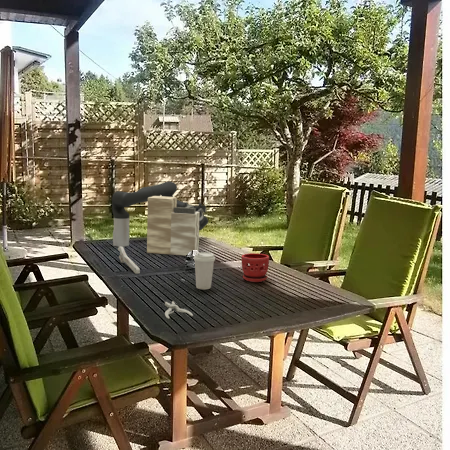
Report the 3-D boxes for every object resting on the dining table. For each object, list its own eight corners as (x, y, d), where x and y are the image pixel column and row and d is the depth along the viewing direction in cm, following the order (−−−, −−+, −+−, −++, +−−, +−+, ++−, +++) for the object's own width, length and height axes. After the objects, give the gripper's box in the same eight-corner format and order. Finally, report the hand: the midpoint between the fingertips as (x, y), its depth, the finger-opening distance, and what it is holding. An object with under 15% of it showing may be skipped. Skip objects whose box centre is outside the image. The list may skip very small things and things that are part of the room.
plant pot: (270, 277, 228) (271, 253, 226) (264, 284, 215) (266, 259, 213) (244, 274, 231) (245, 251, 229) (237, 281, 219) (238, 256, 217)
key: (182, 208, 286) (182, 203, 286) (201, 209, 285) (201, 205, 284) (173, 212, 267) (173, 207, 266) (194, 214, 265) (194, 208, 265)
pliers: (167, 315, 167) (156, 302, 181) (167, 319, 168) (156, 306, 181) (193, 312, 171) (181, 300, 185) (193, 317, 172) (181, 304, 185)
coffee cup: (190, 285, 210) (191, 252, 208) (210, 283, 214) (211, 251, 211) (196, 291, 202) (197, 257, 199) (217, 289, 205) (218, 256, 203)
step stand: (153, 248, 283) (153, 195, 278) (198, 251, 279) (200, 198, 274) (146, 252, 271) (147, 197, 266) (194, 256, 267) (195, 200, 262)
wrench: (136, 280, 225) (117, 259, 250) (139, 279, 226) (120, 259, 251) (136, 264, 223) (117, 245, 248) (140, 264, 224) (121, 244, 249)
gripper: (186, 207, 304) (182, 197, 289) (208, 209, 302) (204, 198, 287) (185, 218, 302) (180, 208, 287) (207, 219, 300) (203, 209, 285)
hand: (192, 203), depth 287 cm, fingers open, 8 cm apart
